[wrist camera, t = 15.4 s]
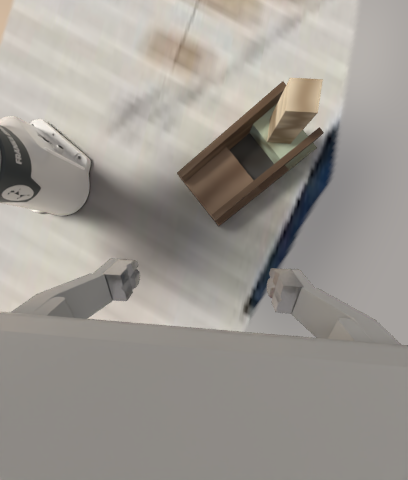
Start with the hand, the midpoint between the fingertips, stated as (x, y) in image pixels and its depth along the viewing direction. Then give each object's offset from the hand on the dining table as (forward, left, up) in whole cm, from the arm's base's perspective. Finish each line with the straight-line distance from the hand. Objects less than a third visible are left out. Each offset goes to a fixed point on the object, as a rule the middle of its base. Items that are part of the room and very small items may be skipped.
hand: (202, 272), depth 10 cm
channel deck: (-9, +16, -26) cm, 31 cm away
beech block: (-9, +24, -23) cm, 35 cm away
